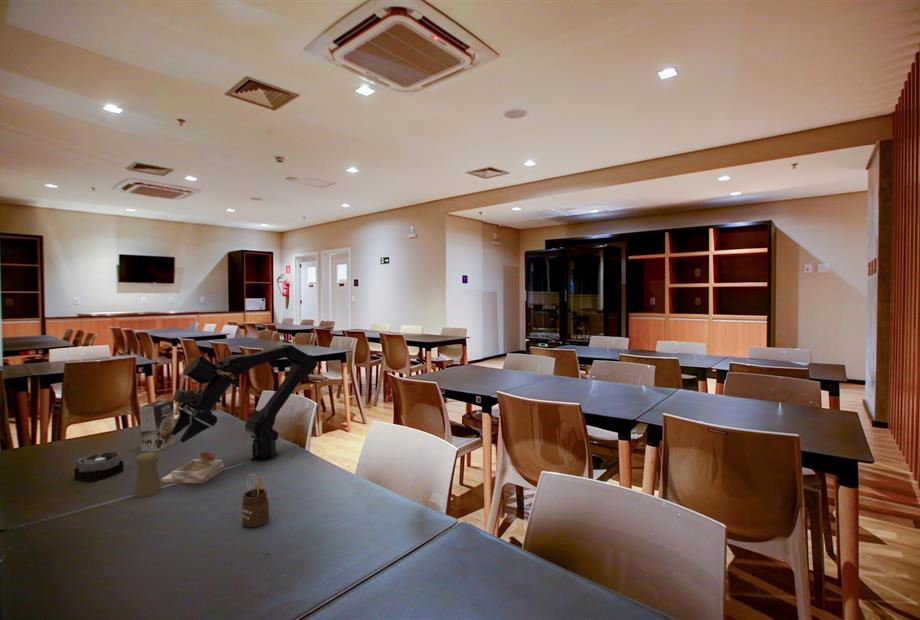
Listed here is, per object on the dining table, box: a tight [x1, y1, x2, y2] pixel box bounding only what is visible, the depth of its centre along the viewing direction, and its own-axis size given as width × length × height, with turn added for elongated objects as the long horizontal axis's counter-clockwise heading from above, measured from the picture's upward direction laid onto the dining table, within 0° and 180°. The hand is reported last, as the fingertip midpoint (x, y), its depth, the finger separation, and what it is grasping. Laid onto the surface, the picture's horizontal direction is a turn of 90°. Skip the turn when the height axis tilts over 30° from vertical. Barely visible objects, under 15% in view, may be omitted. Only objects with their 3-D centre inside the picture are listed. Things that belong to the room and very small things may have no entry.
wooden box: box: [160, 451, 225, 484], centre depth 133 cm, size 13×10×6 cm
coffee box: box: [139, 399, 176, 452], centre depth 158 cm, size 9×6×16 cm
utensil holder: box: [241, 473, 270, 528], centre depth 105 cm, size 6×6×12 cm
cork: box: [134, 451, 162, 498], centre depth 122 cm, size 6×6×11 cm
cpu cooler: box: [74, 451, 125, 484], centre depth 134 cm, size 10×6×10 cm
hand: (176, 438), depth 127 cm, fingers open, 9 cm apart
